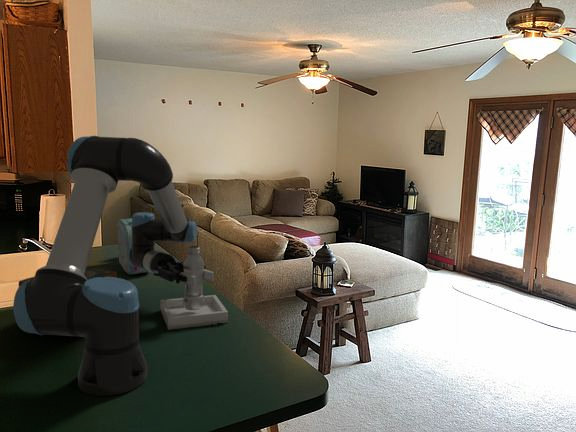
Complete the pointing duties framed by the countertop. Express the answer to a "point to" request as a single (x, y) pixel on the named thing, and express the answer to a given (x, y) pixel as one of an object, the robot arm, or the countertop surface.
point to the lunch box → (126, 246)
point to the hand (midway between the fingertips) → (204, 279)
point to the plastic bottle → (195, 268)
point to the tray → (193, 313)
